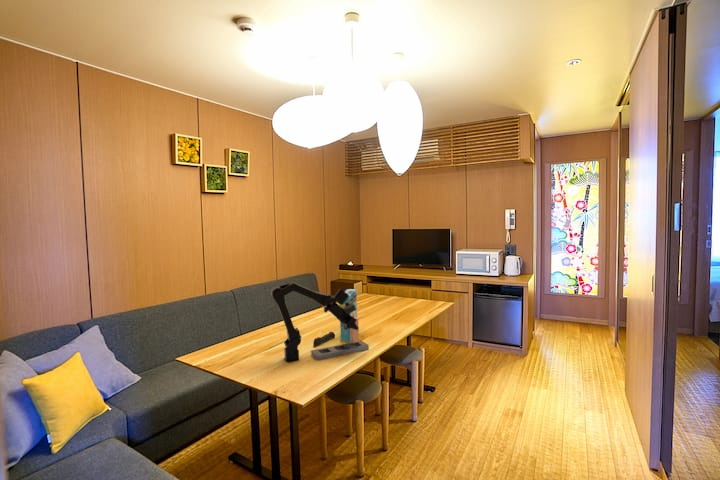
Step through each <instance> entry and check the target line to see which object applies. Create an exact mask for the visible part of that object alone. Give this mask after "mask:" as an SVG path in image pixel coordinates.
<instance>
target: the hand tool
mask: <svg viewBox="0 0 720 480" xmlns="http://www.w3.org/2000/svg"><path fill="white" fill-rule="evenodd" d="M335 338H336V334H335V332H333V331H329V333H327V334H324V335H322V336H320V337H319V336H317V337H316V338H314V339H313V343H312V344H313V346H312V347H313V348H316V347H319V346H321V345H322V344H323V343H326V342H327V341H330V340H332V339H335Z"/></svg>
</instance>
